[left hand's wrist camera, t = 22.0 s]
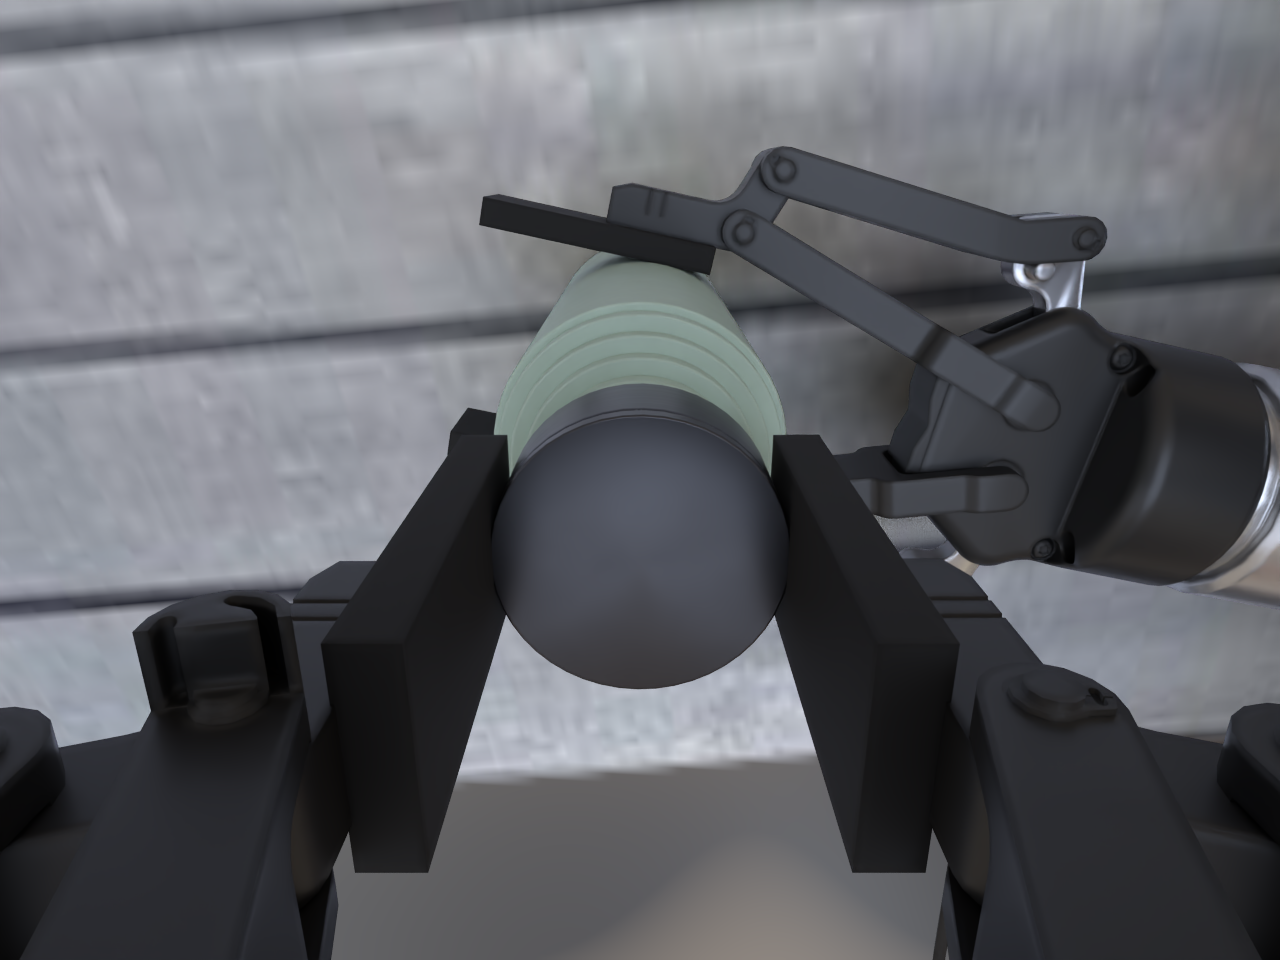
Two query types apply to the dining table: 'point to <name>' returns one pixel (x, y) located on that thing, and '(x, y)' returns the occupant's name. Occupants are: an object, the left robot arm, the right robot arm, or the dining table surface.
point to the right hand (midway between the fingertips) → (474, 325)
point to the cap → (640, 538)
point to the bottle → (639, 350)
